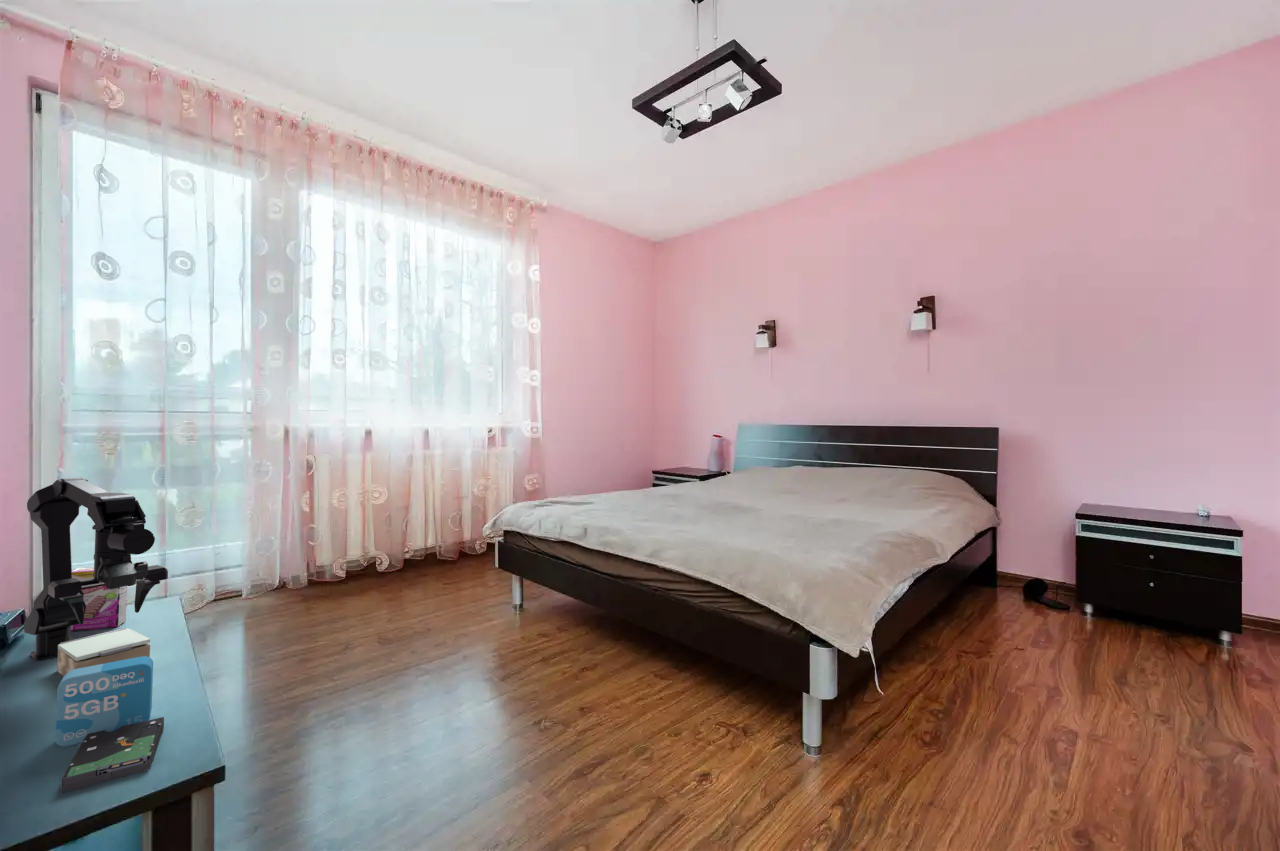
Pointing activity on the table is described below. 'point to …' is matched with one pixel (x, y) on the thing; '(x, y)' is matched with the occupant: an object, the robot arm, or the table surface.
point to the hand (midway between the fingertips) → (110, 618)
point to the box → (99, 658)
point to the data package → (103, 698)
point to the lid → (102, 644)
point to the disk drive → (113, 754)
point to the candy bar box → (100, 604)
